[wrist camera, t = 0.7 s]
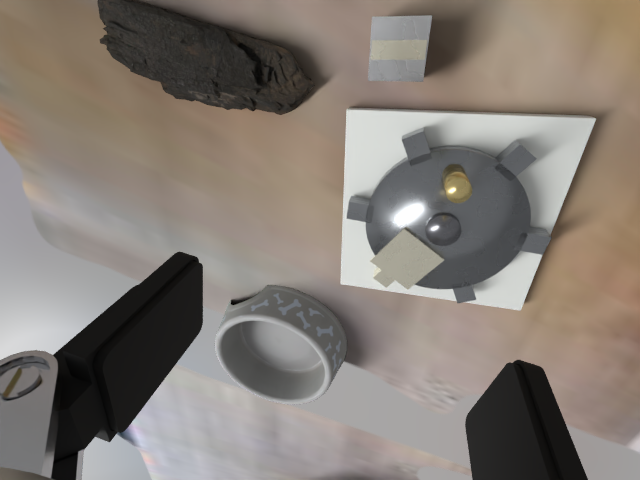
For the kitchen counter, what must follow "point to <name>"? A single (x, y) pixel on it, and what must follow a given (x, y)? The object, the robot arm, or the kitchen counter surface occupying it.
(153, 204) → the kitchen counter surface
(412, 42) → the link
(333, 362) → the dog bowl
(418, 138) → the sprocket
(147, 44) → the wood
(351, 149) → the base plate
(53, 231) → the kitchen counter surface
